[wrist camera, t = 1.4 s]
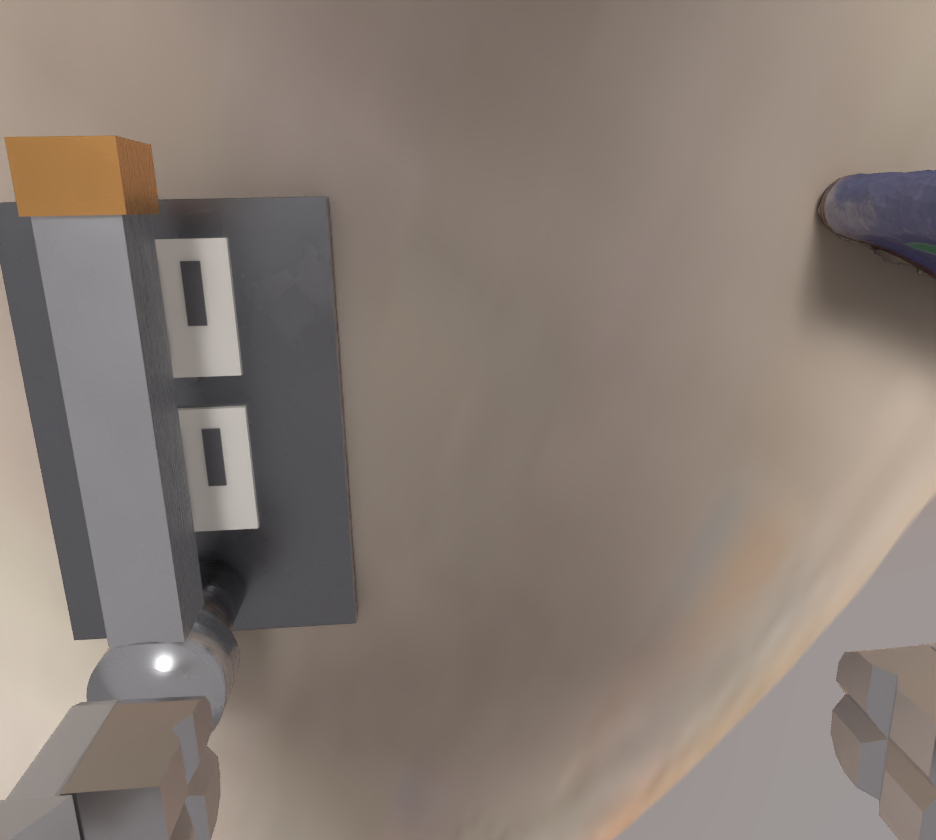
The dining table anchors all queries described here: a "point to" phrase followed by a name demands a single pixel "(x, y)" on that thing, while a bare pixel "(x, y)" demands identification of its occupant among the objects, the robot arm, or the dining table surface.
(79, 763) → the robot arm
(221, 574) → the dark grey cylinder
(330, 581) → the chassis plate
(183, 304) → the label plate
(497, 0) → the dining table surface
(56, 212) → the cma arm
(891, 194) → the flask
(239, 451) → the plate
